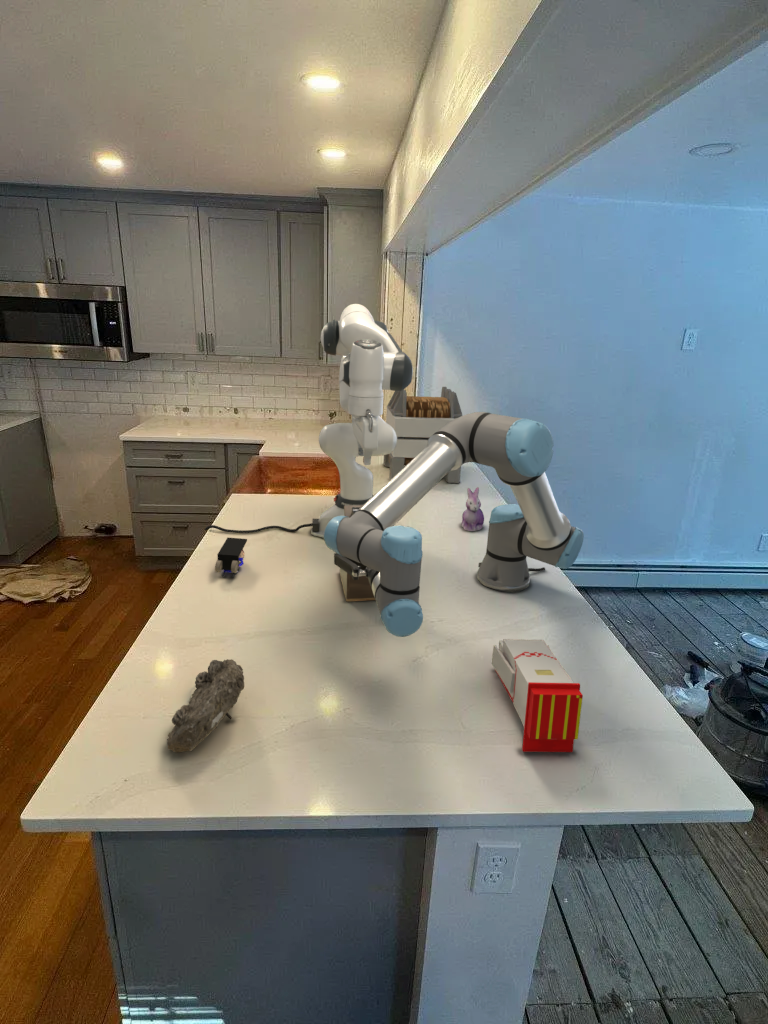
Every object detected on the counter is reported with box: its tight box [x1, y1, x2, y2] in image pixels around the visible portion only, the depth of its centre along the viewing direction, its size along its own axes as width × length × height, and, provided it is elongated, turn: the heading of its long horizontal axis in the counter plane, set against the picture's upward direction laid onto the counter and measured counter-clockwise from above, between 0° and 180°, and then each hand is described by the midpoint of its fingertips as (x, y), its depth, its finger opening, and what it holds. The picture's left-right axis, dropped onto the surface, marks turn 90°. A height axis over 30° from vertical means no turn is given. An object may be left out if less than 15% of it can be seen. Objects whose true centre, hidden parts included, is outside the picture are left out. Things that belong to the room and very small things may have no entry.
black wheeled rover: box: [214, 537, 248, 578], centre depth 166 cm, size 7×8×15 cm
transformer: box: [383, 386, 463, 484], centre depth 268 cm, size 34×33×41 cm
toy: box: [491, 638, 584, 753], centre depth 114 cm, size 12×13×30 cm
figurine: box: [461, 486, 485, 532], centre depth 206 cm, size 9×10×15 cm
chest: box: [339, 568, 376, 602], centre depth 160 cm, size 17×10×9 cm, turn 10°
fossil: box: [166, 658, 245, 754], centre depth 106 cm, size 22×10×15 cm
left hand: (364, 459), depth 149 cm, fingers open, 8 cm apart
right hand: (372, 543), depth 137 cm, fingers open, 13 cm apart
